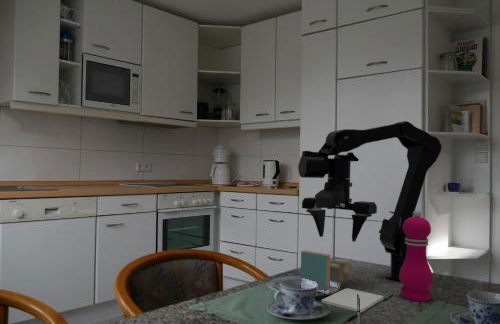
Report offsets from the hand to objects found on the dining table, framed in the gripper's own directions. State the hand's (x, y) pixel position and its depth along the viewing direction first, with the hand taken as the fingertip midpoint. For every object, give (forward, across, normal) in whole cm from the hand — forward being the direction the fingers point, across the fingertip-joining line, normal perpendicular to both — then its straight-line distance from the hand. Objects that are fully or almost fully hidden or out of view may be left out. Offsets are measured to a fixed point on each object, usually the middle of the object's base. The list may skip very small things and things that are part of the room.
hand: (337, 239), depth 106 cm
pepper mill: (+11, +20, +1) cm, 22 cm away
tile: (+11, 0, -11) cm, 15 cm away
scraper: (+11, 0, 0) cm, 11 cm away
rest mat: (+11, +10, -11) cm, 19 cm away
